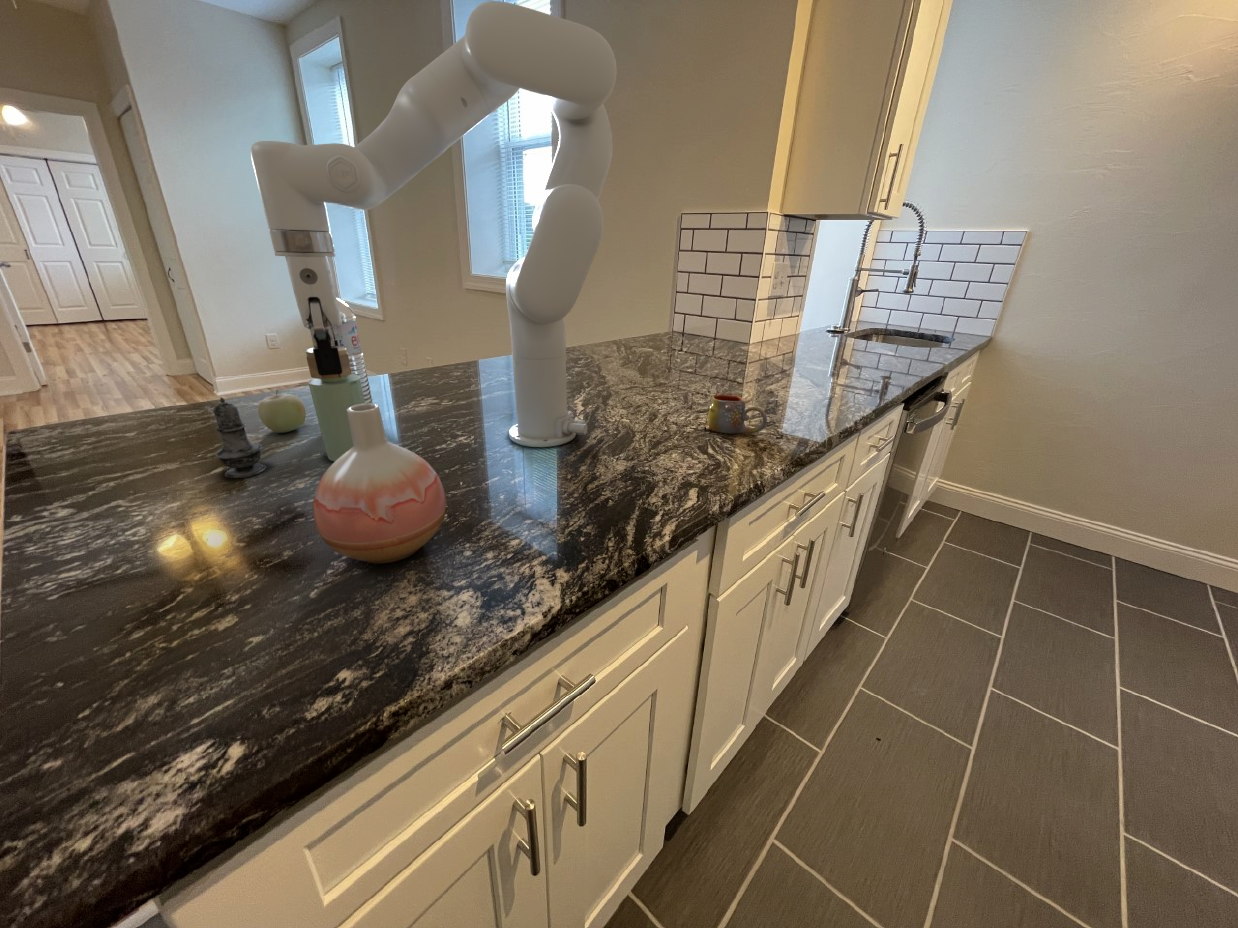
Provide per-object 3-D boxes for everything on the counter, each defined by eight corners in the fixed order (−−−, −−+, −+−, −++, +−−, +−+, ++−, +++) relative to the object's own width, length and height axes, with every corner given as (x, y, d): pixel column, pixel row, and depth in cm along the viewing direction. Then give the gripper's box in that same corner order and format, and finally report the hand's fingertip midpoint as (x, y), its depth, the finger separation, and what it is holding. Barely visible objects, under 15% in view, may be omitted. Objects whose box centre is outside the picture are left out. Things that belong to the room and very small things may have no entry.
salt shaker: (277, 466, 78) (255, 394, 73) (240, 481, 72) (214, 405, 67) (250, 461, 79) (227, 390, 74) (213, 475, 74) (185, 400, 69)
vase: (358, 602, 49) (317, 441, 42) (307, 549, 57) (265, 407, 50) (474, 545, 59) (457, 407, 51) (416, 507, 67) (394, 382, 59)
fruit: (316, 429, 93) (305, 389, 89) (272, 440, 88) (259, 397, 84) (301, 420, 97) (290, 381, 94) (258, 430, 92) (245, 389, 89)
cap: (359, 372, 79) (354, 347, 77) (331, 380, 74) (325, 354, 72) (331, 369, 80) (326, 344, 79) (302, 376, 75) (296, 350, 74)
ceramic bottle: (384, 448, 85) (364, 351, 78) (352, 464, 79) (328, 361, 72) (351, 443, 87) (329, 348, 80) (317, 458, 81) (290, 357, 74)
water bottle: (360, 425, 96) (331, 292, 85) (330, 422, 97) (298, 290, 86) (382, 414, 102) (358, 288, 91) (354, 411, 103) (326, 287, 93)
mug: (700, 429, 98) (703, 397, 95) (717, 420, 102) (720, 390, 100) (755, 444, 91) (760, 410, 88) (770, 434, 95) (775, 402, 93)
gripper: (333, 247, 64) (359, 380, 72) (333, 245, 78) (355, 357, 85) (265, 245, 61) (300, 385, 68) (278, 243, 74) (306, 360, 82)
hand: (330, 368), depth 77 cm, fingers closed on cap, 5 cm apart
